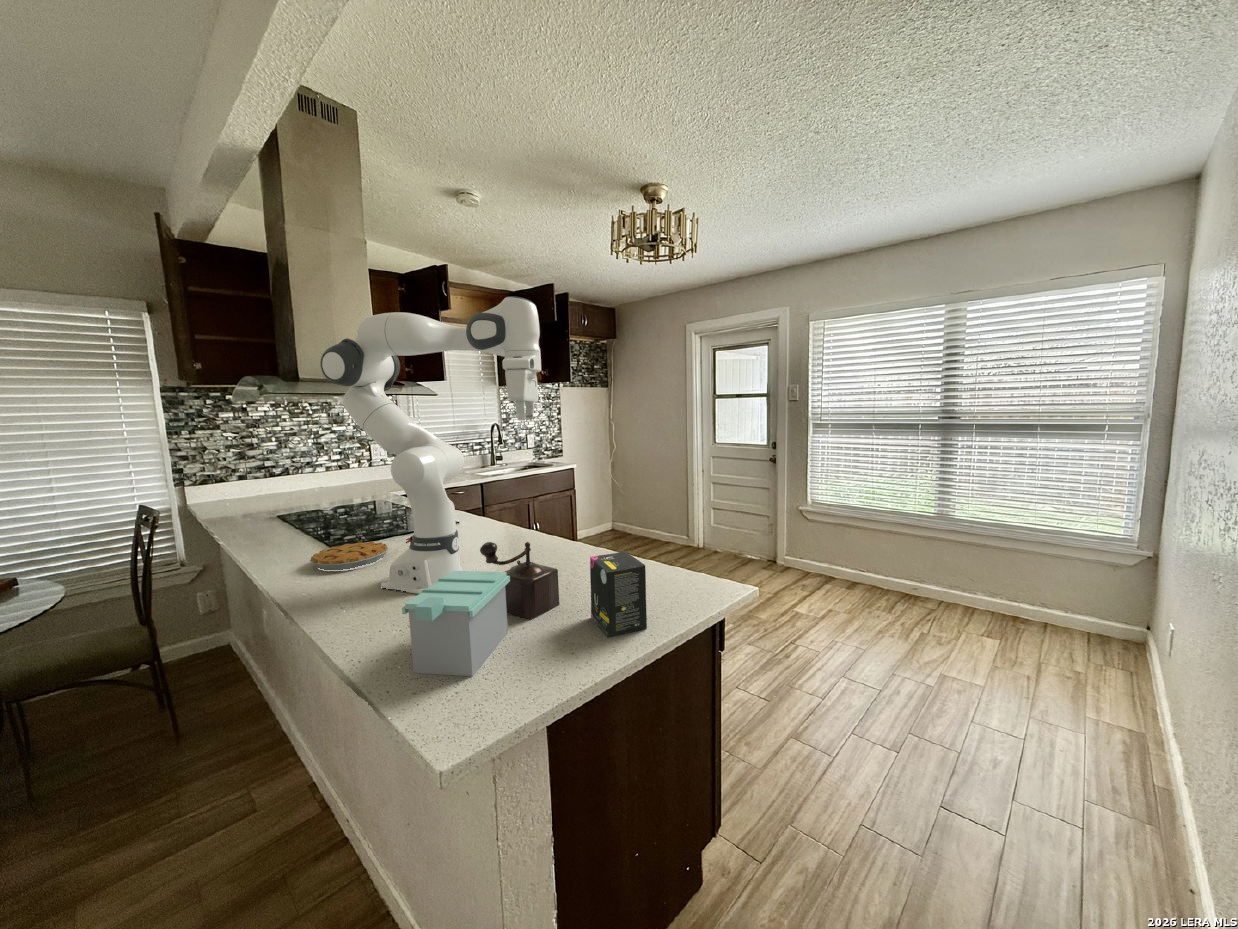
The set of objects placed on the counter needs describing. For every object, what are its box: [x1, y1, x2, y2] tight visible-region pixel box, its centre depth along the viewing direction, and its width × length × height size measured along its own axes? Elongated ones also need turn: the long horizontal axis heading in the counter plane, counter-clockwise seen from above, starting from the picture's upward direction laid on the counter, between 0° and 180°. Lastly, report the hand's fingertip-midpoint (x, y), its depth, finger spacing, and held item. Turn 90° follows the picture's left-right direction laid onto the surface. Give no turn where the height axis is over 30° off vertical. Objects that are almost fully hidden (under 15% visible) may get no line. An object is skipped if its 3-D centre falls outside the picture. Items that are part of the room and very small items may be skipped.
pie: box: [309, 541, 389, 570], centre depth 151 cm, size 22×22×5 cm
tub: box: [408, 587, 509, 677], centre depth 92 cm, size 12×17×12 cm
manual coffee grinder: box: [479, 541, 560, 621], centre depth 109 cm, size 16×11×18 cm
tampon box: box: [589, 551, 648, 638], centre depth 102 cm, size 11×9×15 cm
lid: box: [401, 570, 510, 621], centre depth 89 cm, size 14×21×3 cm, turn 172°
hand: (525, 420), depth 117 cm, fingers open, 8 cm apart
